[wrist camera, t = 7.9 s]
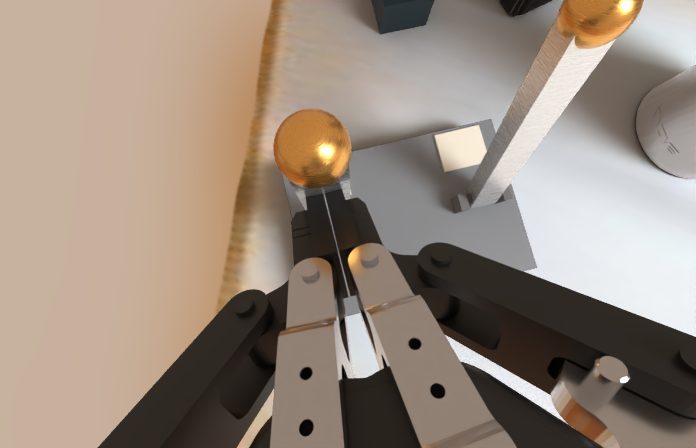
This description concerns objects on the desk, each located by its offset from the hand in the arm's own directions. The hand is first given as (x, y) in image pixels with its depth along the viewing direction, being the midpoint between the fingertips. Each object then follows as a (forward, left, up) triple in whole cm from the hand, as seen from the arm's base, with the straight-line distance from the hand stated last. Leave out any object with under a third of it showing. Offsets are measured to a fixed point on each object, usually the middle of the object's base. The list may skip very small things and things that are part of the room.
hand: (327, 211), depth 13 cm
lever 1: (0, 0, -10) cm, 10 cm away
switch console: (-6, 0, -14) cm, 15 cm away
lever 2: (-11, 0, -10) cm, 15 cm away
